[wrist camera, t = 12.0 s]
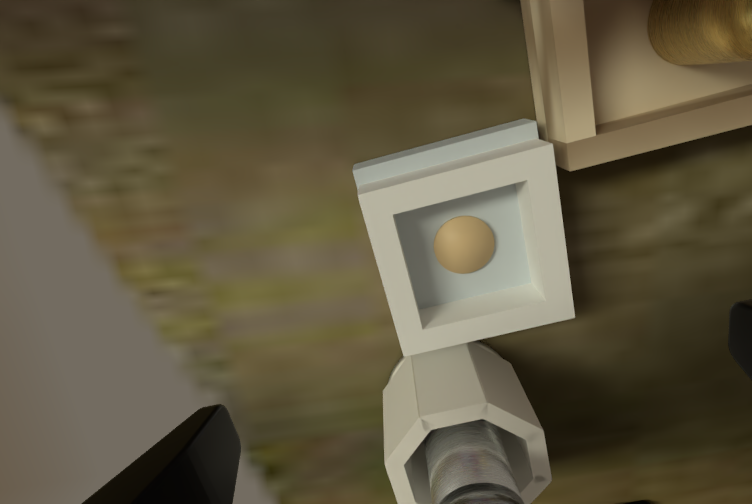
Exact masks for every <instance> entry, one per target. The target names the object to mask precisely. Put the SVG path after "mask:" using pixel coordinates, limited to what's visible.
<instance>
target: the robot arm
mask: <svg viewBox="0 0 752 504" xmlns="http://www.w3.org/2000/svg"><path fill="white" fill-rule="evenodd" d="M728 345H729V350H730V353H731V355H732V356H733V358H734V360H735V361H736V362H737V363H738V364H739V366H740V367H741V368H742V369H743V370H744V372H745V373H746V374H747V375H748V376H749V378H750V379H751V380H752V299H749V300H744V301H740V302H736V303H734V304H733V305H732V306H731V308H730V313H729V339H728ZM240 453H241V444H240V439H239V436H238V434H237V431H236V429H235V426H234V424H233V422H232V419H231V417H230V415H229V412H228V410H227V408H226V407H225V406H224V405H221V404H218V405H213V406H208V407H203V408H200V409H199V410H197V411H196V412H195V413H194V414H192V415H191V416H190V417H189V418H187V419H186V420H185V421H184V422H182V423H181V424H180V425H179V426H177V427H176V428H175V429H174V430H173V431H171V432H170V433H169V434H168V435H166V436H165V437H164V438H163V439H161V440H160V441H159V442H158V443H156V444H155V445H154V446H153V447H152V448H150V449H149V450H148V451H146V452H145V453H144V454H143V455H141V456H140V457H139V458H138V459H137V460H135V461H134V462H133V463H131V464H130V465H129V466H128V467H126V468H125V469H124V470H123V471H121V472H120V473H119V474H118V475H116V476H115V477H114V478H113V479H112V480H110V481H109V482H108V483H107V484H105V485H104V486H103V487H102V488H100V489H99V490H98V491H97V492H95V493H94V494H93V495H92V496H90V497H89V498H88V499H87V500H85V501H84V502H83V503H82V504H232V503H233V497H234V491H235V484H236V478H237V471H238V465H239V459H240ZM635 504H650V503H649V502H641V503H635Z"/></svg>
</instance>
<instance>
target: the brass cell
mask: <svg viewBox="0 0 752 504" xmlns="http://www.w3.org/2000/svg"><path fill="white" fill-rule="evenodd" d="M647 31H648V37H649V41H650V43H651V46H652V48H653V49H654V51H655V52H656V54H657V55H658V56H659V57H660V58H662V59H663V60H665V61H666V62H669V63H671V64H675V65H682V66H684V65H699V64H713V63H728V62H742V61H752V0H653V2H652V5H651V8H650V11H649V15H648V22H647Z"/></svg>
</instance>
